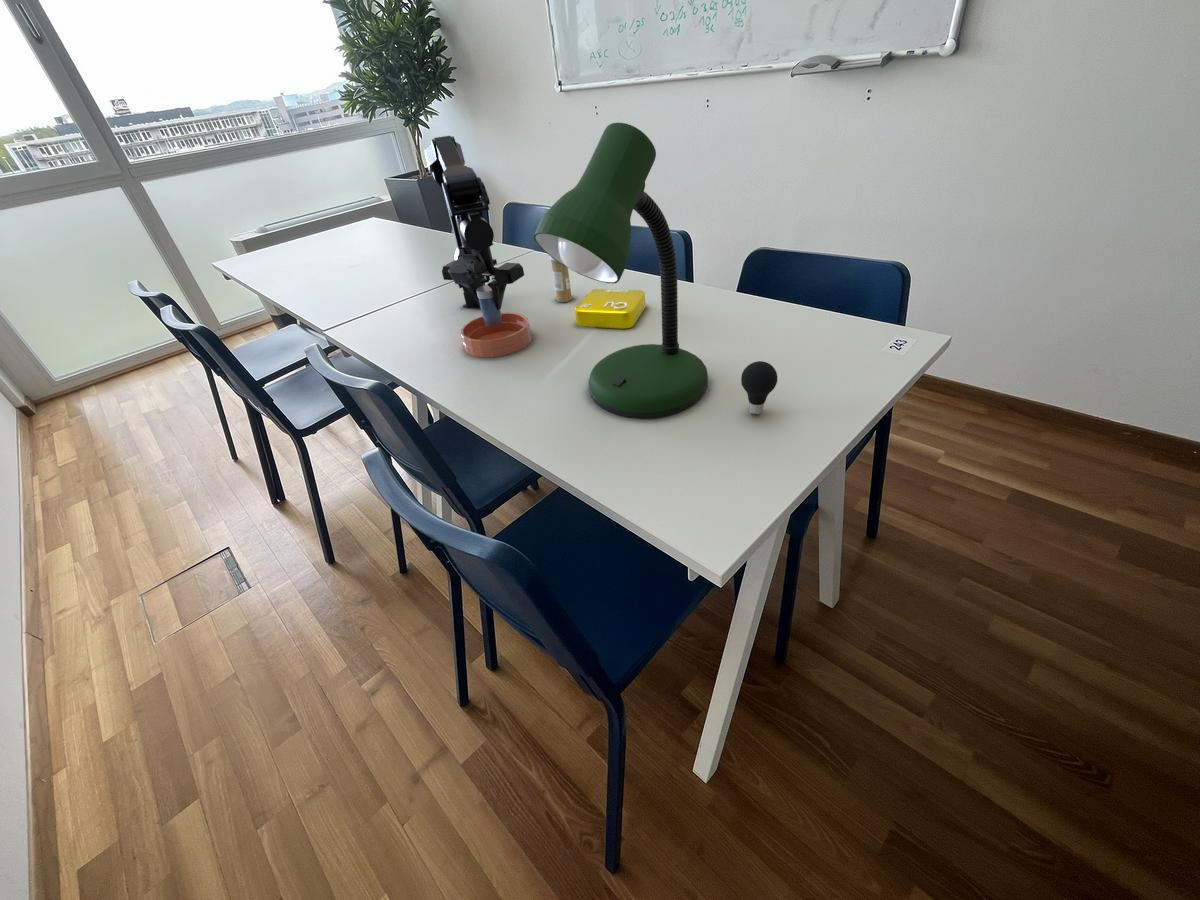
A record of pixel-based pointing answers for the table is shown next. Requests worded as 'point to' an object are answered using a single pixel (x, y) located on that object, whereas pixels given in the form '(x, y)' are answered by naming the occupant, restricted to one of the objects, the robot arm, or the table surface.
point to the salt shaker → (488, 306)
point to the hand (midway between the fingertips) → (490, 308)
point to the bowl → (496, 336)
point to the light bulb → (758, 384)
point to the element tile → (610, 308)
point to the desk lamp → (600, 252)
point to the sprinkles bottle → (561, 281)
